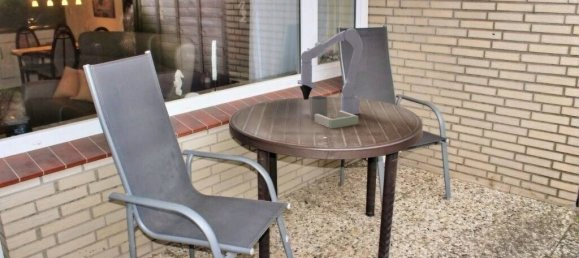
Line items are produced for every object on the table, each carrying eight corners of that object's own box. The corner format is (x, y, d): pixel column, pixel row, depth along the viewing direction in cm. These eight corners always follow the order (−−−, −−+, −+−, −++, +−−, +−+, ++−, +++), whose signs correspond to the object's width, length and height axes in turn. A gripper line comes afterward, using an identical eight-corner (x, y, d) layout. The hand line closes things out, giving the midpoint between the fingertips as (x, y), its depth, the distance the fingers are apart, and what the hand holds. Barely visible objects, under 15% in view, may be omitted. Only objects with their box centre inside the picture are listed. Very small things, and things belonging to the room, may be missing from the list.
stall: (340, 117, 246) (340, 110, 245) (358, 124, 235) (358, 116, 234) (314, 122, 238) (314, 114, 237) (331, 128, 227) (331, 120, 226)
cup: (325, 119, 244) (326, 99, 241) (309, 118, 246) (309, 99, 243) (327, 115, 252) (328, 96, 249) (312, 114, 254) (312, 95, 251)
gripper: (292, 72, 257) (292, 97, 261) (307, 76, 245) (307, 102, 249) (303, 71, 261) (303, 96, 264) (319, 75, 249) (318, 101, 252)
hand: (306, 99), depth 257 cm, fingers closed
